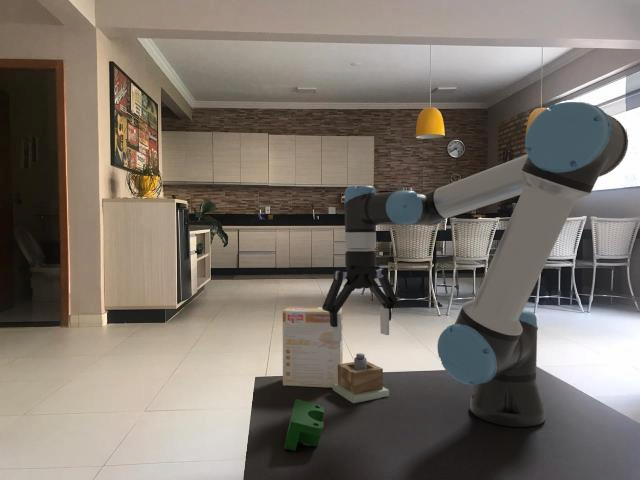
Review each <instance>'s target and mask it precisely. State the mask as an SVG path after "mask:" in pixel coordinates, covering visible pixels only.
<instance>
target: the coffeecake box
mask: <svg viewBox="0 0 640 480" xmlns="http://www.w3.org/2000/svg"><path fill="white" fill-rule="evenodd" d="M338 313H341V340H342V341H336V340H334V339H333V327H332V326H331V325H330V313H329V312H328V311H325V310H323V309H322V306H321V307H319V306H316V307H315V306H311V307H310V306H287V307H286V308H285V309H283V310H282V386H284V387H285V386H289V387H309V388H311V387H312V388H327V389H329V388H332V389H333V384H335V383H338V364H344V363H343V361H344V360H343V350H344V349H343V345H344V344H343V343H344V342H343V336H344V335H343V330H344V329H343V325H344V324H343V307H341V308H340V310H339V311H338Z"/></svg>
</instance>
